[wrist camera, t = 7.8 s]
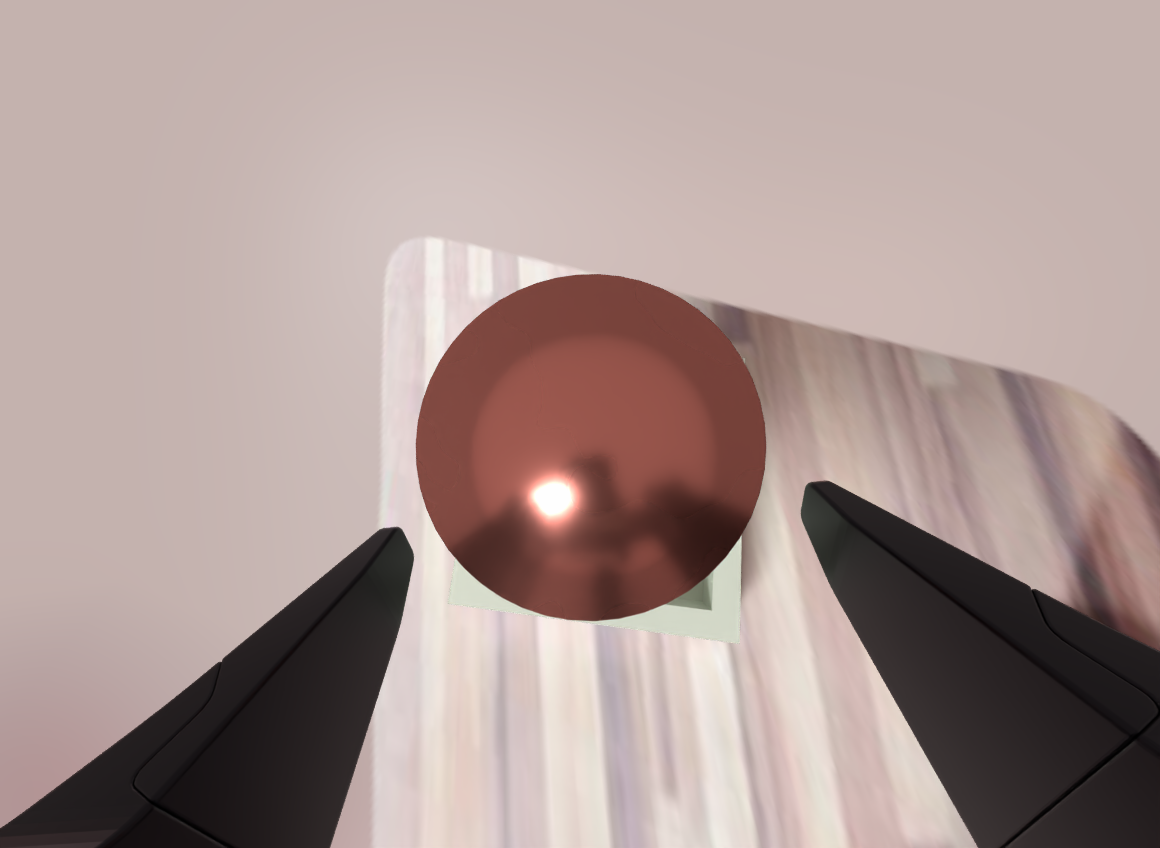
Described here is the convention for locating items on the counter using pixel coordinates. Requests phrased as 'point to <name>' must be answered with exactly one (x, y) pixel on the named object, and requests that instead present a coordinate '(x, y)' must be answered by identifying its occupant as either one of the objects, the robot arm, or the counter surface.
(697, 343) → the pin
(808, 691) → the counter surface
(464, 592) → the tray
